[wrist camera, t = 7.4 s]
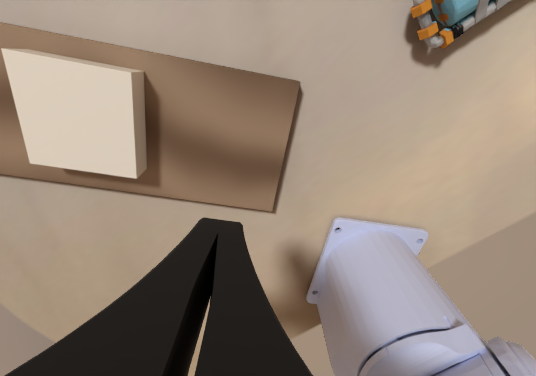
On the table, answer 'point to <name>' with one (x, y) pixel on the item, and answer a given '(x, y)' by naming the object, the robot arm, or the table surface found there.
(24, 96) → the tile
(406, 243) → the robot arm
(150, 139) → the board
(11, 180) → the table surface
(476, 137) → the table surface
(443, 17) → the flamethrower
